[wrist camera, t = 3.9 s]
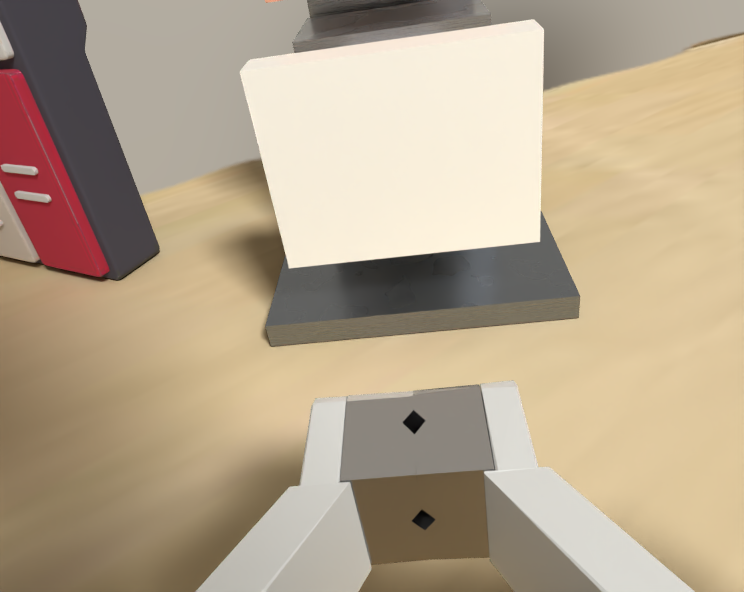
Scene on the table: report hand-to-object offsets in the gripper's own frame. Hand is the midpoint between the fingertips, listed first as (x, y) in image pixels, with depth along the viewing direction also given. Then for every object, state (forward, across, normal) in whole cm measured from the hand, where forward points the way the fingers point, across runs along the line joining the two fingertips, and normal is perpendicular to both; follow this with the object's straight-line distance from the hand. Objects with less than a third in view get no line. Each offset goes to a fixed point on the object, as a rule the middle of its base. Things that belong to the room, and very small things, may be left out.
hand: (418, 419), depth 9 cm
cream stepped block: (+16, 0, +4) cm, 16 cm away
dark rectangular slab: (+22, +19, +8) cm, 30 cm away
